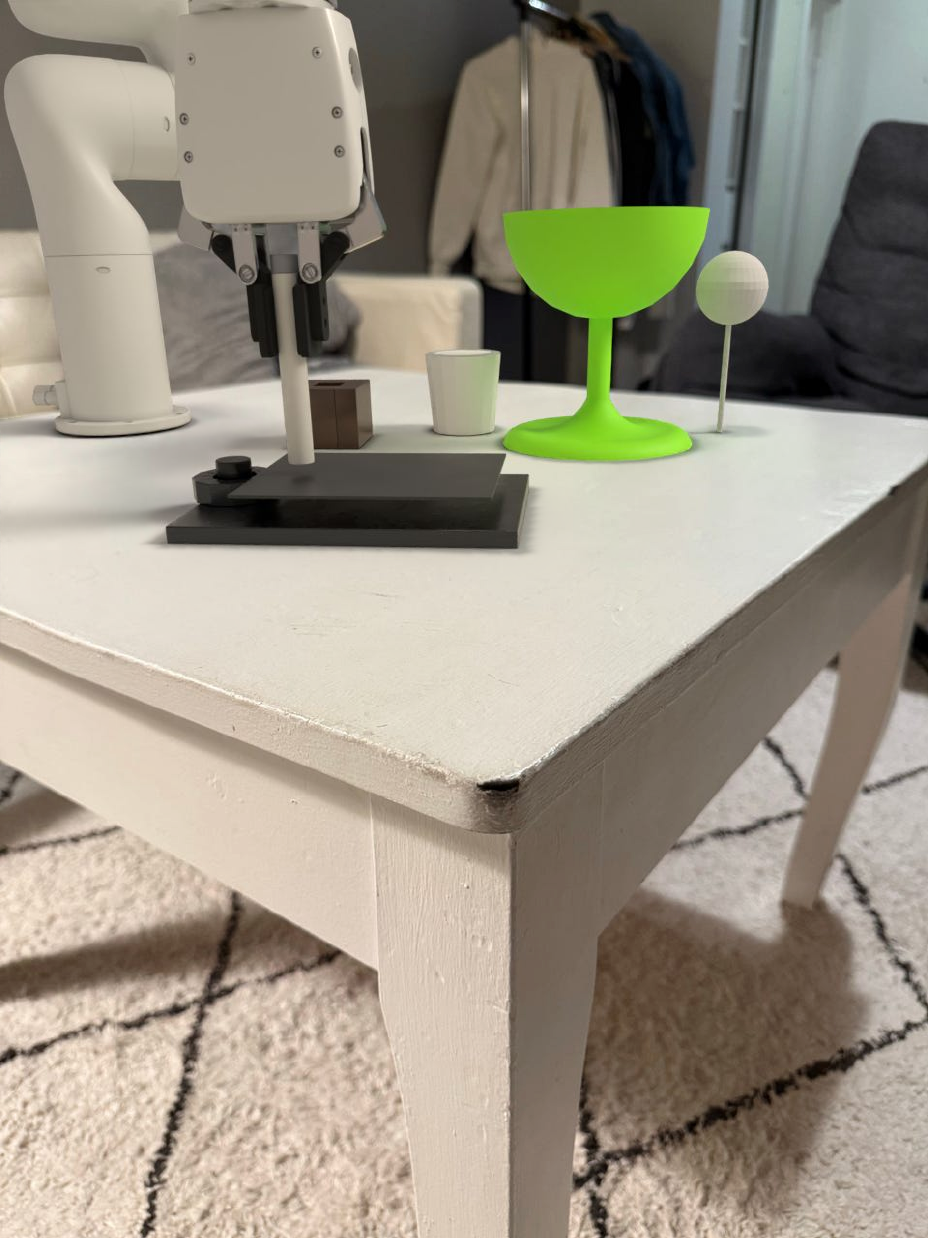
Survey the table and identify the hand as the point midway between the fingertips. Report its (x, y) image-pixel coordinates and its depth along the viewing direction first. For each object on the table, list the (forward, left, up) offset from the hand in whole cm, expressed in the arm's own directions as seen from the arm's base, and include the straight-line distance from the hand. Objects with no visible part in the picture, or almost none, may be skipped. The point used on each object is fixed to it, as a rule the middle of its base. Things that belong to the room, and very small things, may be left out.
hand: (292, 352), depth 54 cm
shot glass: (+7, +30, -10) cm, 32 cm away
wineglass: (+19, +24, -10) cm, 32 cm away
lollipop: (+30, +29, -10) cm, 43 cm away
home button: (-4, 0, -8) cm, 9 cm away
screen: (+5, 0, -7) cm, 9 cm away
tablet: (+4, 0, -10) cm, 11 cm away
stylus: (0, 0, -7) cm, 7 cm away
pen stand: (-4, +24, -10) cm, 26 cm away
